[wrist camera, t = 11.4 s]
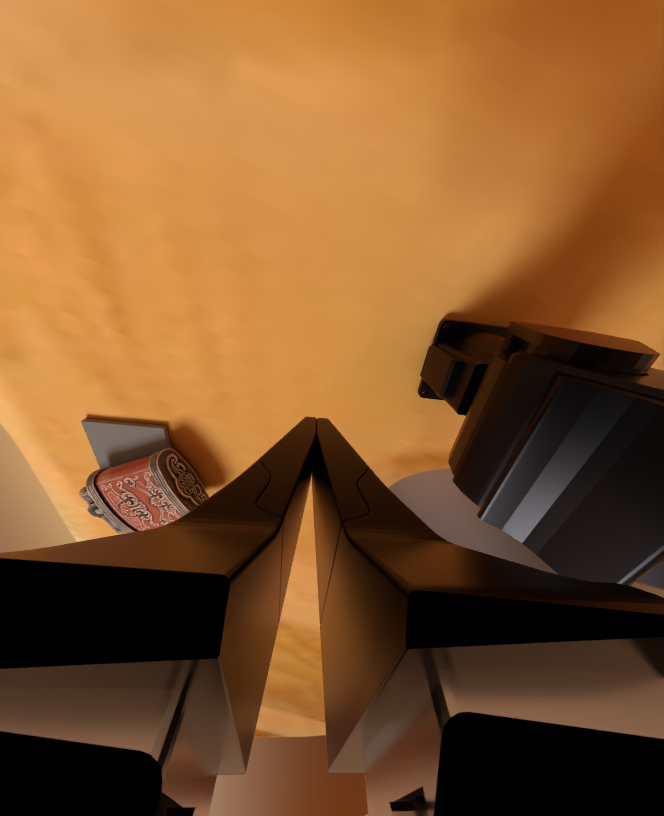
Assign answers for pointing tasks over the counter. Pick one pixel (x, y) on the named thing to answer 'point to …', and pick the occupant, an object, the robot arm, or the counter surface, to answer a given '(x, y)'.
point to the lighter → (144, 492)
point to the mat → (124, 440)
